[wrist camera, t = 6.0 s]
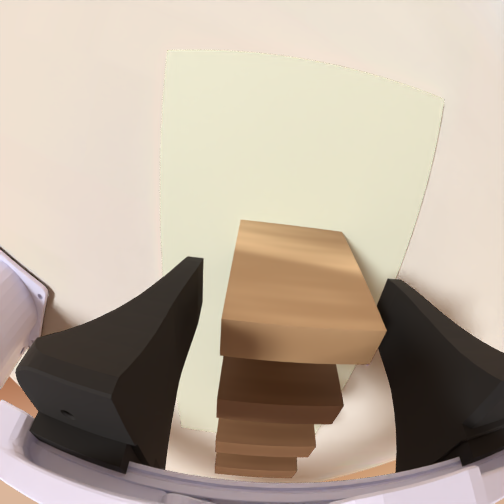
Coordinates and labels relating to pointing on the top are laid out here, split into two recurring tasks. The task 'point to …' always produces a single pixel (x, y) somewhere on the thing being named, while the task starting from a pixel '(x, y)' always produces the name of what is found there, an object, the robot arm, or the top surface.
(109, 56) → the top surface
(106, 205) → the top surface
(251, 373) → the domino
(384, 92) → the sage mat
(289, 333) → the domino
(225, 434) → the domino
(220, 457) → the domino
